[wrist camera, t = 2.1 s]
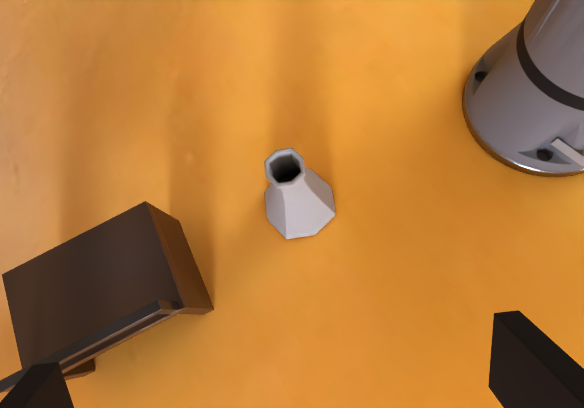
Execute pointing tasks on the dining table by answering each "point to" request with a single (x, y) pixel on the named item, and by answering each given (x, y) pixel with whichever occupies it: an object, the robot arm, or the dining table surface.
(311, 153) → the dining table surface
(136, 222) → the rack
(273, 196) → the flask
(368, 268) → the dining table surface
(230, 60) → the dining table surface
